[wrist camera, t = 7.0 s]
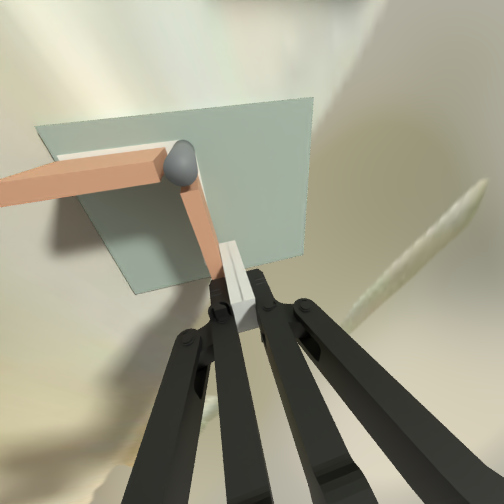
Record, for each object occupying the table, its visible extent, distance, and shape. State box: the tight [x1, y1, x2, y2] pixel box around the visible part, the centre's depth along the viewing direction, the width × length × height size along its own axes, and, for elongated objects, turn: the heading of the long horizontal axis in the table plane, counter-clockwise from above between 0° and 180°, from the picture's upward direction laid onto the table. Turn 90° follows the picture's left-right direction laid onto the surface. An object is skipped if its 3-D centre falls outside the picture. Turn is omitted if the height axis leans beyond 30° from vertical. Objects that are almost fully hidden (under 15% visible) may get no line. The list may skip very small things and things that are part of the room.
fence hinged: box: [180, 175, 225, 280], centre depth 16 cm, size 10×1×6 cm, turn 10°
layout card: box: [34, 97, 314, 294], centre depth 18 cm, size 19×15×1 cm
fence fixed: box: [0, 140, 198, 207], centre depth 12 cm, size 9×2×7 cm, turn 96°
